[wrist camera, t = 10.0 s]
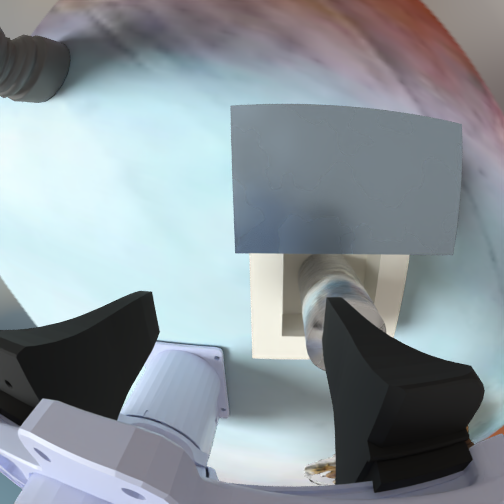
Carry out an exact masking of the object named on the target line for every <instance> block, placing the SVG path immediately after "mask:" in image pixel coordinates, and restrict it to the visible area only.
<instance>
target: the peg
mask: <svg viewBox="0 0 504 504" xmlns="http://www.w3.org/2000/svg"><path fill="white" fill-rule="evenodd" d="M297 278H298V287H299V294H300V301H301V309H302V316H303V324H304V332H305V340H306V348H307V353H308V356H309V358H310V360H311V361H312V362H313V363H314V364H315V365H316V366H317V367H319V368H320V369H322V370H324V371H326V369H325V365H324V360H323V347H322V335H323V327H324V317H325V307H326V297H342V298H343V299H344V300H346V301H347V302H348V303H349V304H350V305H351V306H352V307H353V308H355V309H356V310H357V311H358V312H359V313H360V314H361V315H363V316H364V317H365V318H366V319H367V320H369V321H370V322H371V323H372V324H374V325H375V326H376V327H378V328H379V329H380V330H382V331H383V332H385V333H386V326H385V323H384V321H383V319H382V317H381V316H380V314H379V312H378V310H377V309H376V307H375V305H374V303H373V302H372V300H371V298H370V297H369V295H368V293H367V292H366V290H365V288H364V286H363V285H362V283H361V281H360V280H359V278H358V277H357V275H356V273H355V272H354V270H353V268H352V267H351V265H350V264H349V262H348V260H347V259H346V258H345V257H344V256H342V255H341V254H312V255H310V256H309V257H308V258H306V259H305V261H304V262H303V263H302V264H301V266H300V268H299V271H298V277H297Z"/></svg>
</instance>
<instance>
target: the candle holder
mask: <svg viewBox="0 0 504 504" xmlns="http://www.w3.org/2000/svg"><path fill="white" fill-rule="evenodd" d="M69 65H70V53H69V50H68V48H67V47H66V45H65V44H62V43H59V42H56V41H54V40H51V39H48V38H45V37H41V36H33V37H32V36H27V35H22V36H19V37H17V38H15V39H13V40H10V38H7V37H5V34H4V32H3V31H2V29H1V28H0V96H1V97H3V98H6V97H8V98H10V99H12V100H13V101H21V102H34V103H40V102H45V101H47V100H48V99H50V98H51V97H52V96H54V95H55V94H56V92H57V91H58V90H59V88H60V87H61V86H62V84H63V82H64V80H65V78H66V76H67V73H68V69H69Z"/></svg>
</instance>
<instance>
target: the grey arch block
mask: <svg viewBox="0 0 504 504" xmlns="http://www.w3.org/2000/svg"><path fill="white" fill-rule="evenodd" d="M231 146H232V178H233V207H234V233H235V253H266V254H385V255H453V252H454V246H455V239H456V232H457V224H458V216H459V206H460V195H461V179H462V124H459V123H455V122H450V121H446V120H441V119H436V118H431V117H426V116H420V115H414V114H408V113H401V112H394V111H387V110H379V109H370V108H360V107H348V106H334V105H312V104H256V105H235V106H231Z"/></svg>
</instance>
